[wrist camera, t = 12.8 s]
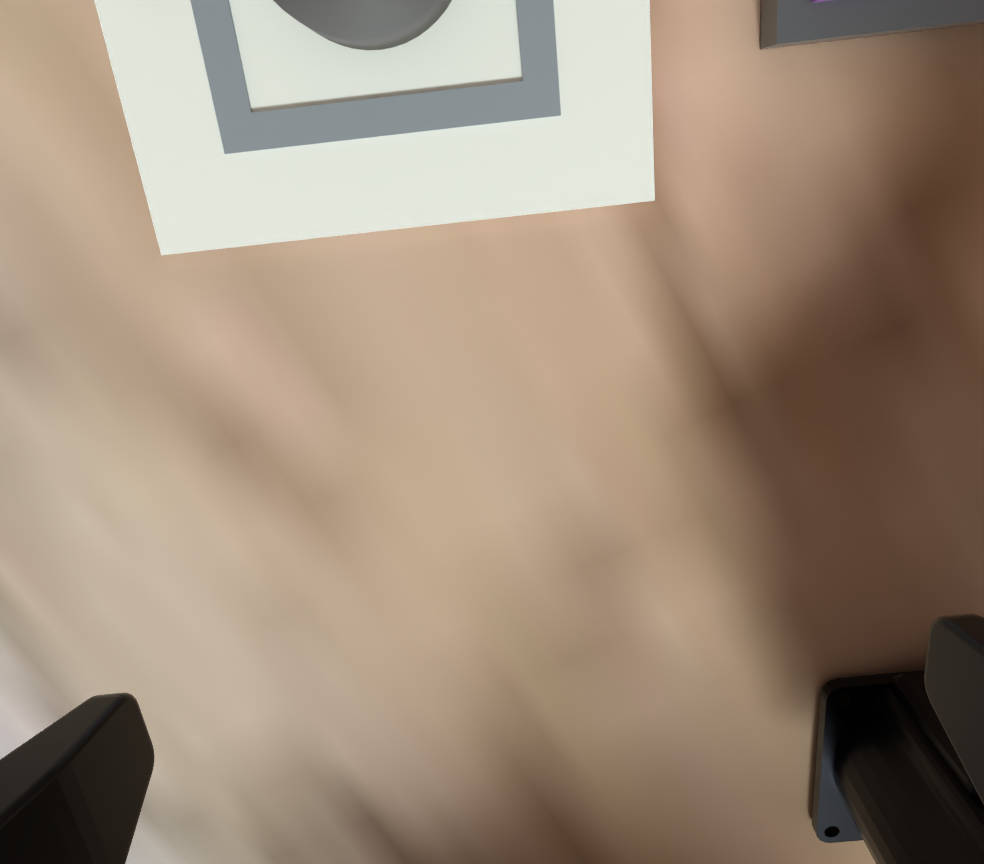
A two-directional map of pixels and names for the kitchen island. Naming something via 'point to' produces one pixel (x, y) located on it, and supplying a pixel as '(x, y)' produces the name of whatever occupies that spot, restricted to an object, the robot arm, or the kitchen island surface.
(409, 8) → the stamp
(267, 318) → the kitchen island surface
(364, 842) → the kitchen island surface
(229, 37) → the sheet
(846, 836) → the robot arm
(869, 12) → the ink pad
